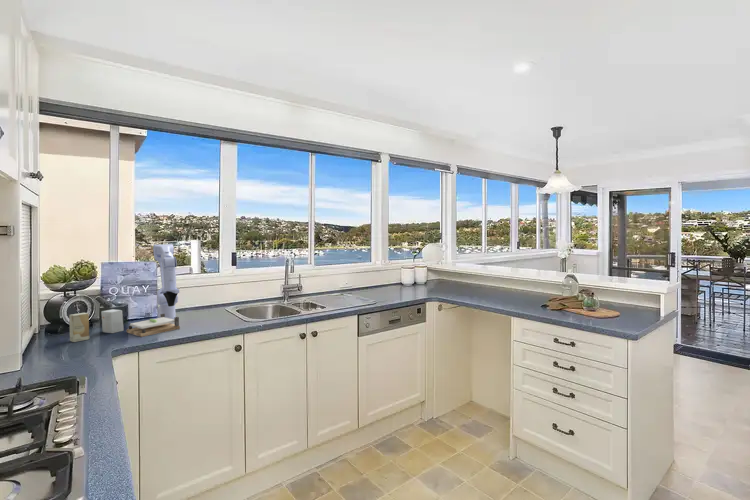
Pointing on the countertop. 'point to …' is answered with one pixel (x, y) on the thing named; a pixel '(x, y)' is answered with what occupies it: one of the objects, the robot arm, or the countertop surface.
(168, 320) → the levelling plate
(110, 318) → the small box
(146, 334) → the oak base
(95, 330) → the countertop surface
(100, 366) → the countertop surface
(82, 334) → the skincare box
